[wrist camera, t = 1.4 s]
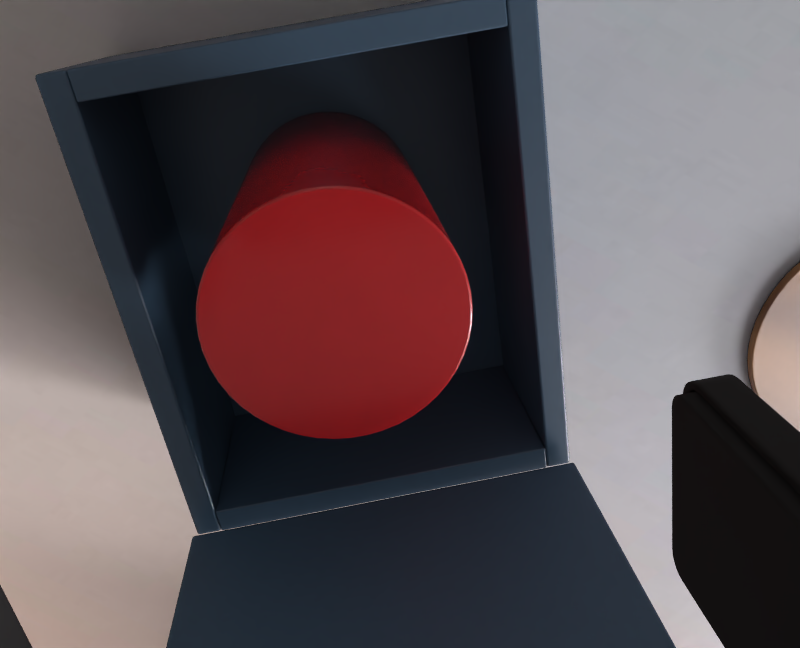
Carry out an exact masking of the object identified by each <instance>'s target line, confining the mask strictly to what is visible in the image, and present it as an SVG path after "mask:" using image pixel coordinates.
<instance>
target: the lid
mask: <svg viewBox="0 0 800 648" xmlns="http://www.w3.org/2000/svg"><path fill="white" fill-rule="evenodd" d="M166 648H676V647H675V645H674V643H673V642H672V640H671V638H670V636H669V634H668V633H667V631H666V629H665V627H664V625H663V623H662V622H661V620H660V618H659V616H658V614H657V613H656V611H655V609H654V607H653V605H652V604H651V602H650V600H649V598H648V596H647V594H646V593H645V591H644V589H643V587H642V585H641V584H640V582H639V580H638V578H637V576H636V575H635V573H634V571H633V569H632V567H631V565H630V564H629V562H628V560H627V558H626V556H625V555H624V553H623V551H622V549H621V547H620V546H619V544H618V542H617V540H616V538H615V536H614V535H613V533H612V531H611V529H610V527H609V526H608V524H607V522H606V520H605V518H604V517H603V515H602V513H601V511H600V509H599V507H598V506H597V504H596V502H595V500H594V498H593V497H592V495H591V493H590V491H589V489H588V488H587V486H586V484H585V482H584V480H583V478H582V477H581V475H580V473H579V471H578V469H577V468H576V466H575V464H574V463H569V464H564V465H559V466H553V467H548V468H543V469H538V470H533V471H528V472H523V473H517V474H512V475H507V476H502V477H497V478H492V479H487V480H481V481H476V482H471V483H466V484H461V485H456V486H451V487H445V488H440V489H435V490H430V491H425V492H420V493H415V494H409V495H404V496H399V497H394V498H389V499H384V500H379V501H373V502H368V503H363V504H358V505H353V506H348V507H343V508H337V509H332V510H327V511H322V512H317V513H312V514H307V515H301V516H296V517H291V518H286V519H281V520H276V521H271V522H265V523H260V524H255V525H250V526H245V527H240V528H235V529H229V530H224V531H219V532H214V533H209V534H204V535H199V536H194V537H193V538H192V542H191V547H190V551H189V555H188V559H187V563H186V567H185V572H184V576H183V580H182V584H181V588H180V592H179V597H178V601H177V605H176V609H175V613H174V617H173V622H172V626H171V630H170V634H169V638H168V642H167V647H166Z"/></svg>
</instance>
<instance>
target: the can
mask: <svg viewBox="0 0 800 648" xmlns="http://www.w3.org/2000/svg"><path fill="white" fill-rule="evenodd" d="M472 315H473V304H472V295H471V288H470V284H469V280H468V276H467V273H466V271H465V268H464V266H463V264H462V261H461V259H460V257H459V255H458V253H457V251H456V250H455V248H454V246H453V244H452V242H451V241H450V239H449V237H448V235H447V233H446V231H445V230H444V228H443V226H442V224H441V222H440V220H439V219H438V217H437V215H436V213H435V211H434V210H433V208H432V206H431V204H430V202H429V200H428V199H427V197H426V195H425V193H424V191H423V190H422V188H421V186H420V184H419V182H418V180H417V179H416V177H415V175H414V173H413V171H412V169H411V168H410V166H409V164H408V162H407V160H406V159H405V157H404V155H403V153H402V152H401V150H400V149H399V147H398V146H397V145H396V143H395V142H394V141H393V140H392V139H391V138H390V137H389V136H388V135H387V134H386V133H385V132H384V131H382V130H381V129H380V128H378V127H377V126H376V125H374V124H372V123H370V122H369V121H367V120H365V119H362V118H360V117H357V116H354V115H350V114H346V113H340V112H317V113H310V114H307V115H303V116H300V117H297V118H295V119H293V120H291V121H288V122H287V123H285V124H284V125H282V126H280V127H279V128H277V129H276V130H275V131H274V132H273V133H272V134H270V135H269V136H268V138H267V139H266V140H265V141H264V142H263V143H262V144H261V146H260V147H259V149H258V150H257V152H256V154H255V156H254V158H253V160H252V162H251V164H250V166H249V168H248V171H247V173H246V175H245V177H244V180H243V182H242V184H241V187H240V189H239V191H238V193H237V196H236V198H235V200H234V202H233V205H232V207H231V209H230V212H229V214H228V216H227V218H226V221H225V223H224V225H223V227H222V230H221V232H220V234H219V236H218V239H217V241H216V243H215V246H214V248H213V250H212V252H211V255H210V257H209V259H208V261H207V264H206V266H205V268H204V271H203V274H202V277H201V280H200V284H199V288H198V294H197V300H196V324H197V332H198V338H199V341H200V345H201V348H202V352H203V354H204V357H205V359H206V361H207V363H208V366H209V368H210V369H211V371H212V373H213V374H214V376H215V377H216V379H217V381H218V382H219V383H220V385H221V386H222V387H223V388H224V389H225V391H226V392H227V393H228V394H229V396H231V397H232V398H233V399H234V400H235V401H236V402H237V403H238V404H239V405H240V406H241V407H243V408H244V409H245V410H247V411H248V412H249V413H251V414H252V415H254V416H255V417H257V418H259V419H260V420H262V421H264V422H266V423H268V424H269V425H272V426H274V427H277V428H279V429H281V430H284V431H287V432H291V433H294V434H298V435H302V436H308V437H314V438H326V439H341V438H353V437H359V436H365V435H369V434H373V433H376V432H380V431H383V430H385V429H388V428H390V427H393V426H395V425H397V424H399V423H401V422H403V421H405V420H407V419H408V418H410V417H412V416H414V415H415V414H416V413H418V412H419V411H420V410H422V409H423V408H425V407H426V406H427V405H428V404H429V403H430V402H431V401H432V400H434V399H435V398H436V397H437V396H438V395H439V394H440V392H441V391H442V390H443V389H444V388H445V386H446V385H447V384H448V383H449V381H450V380H451V378H452V377H453V375H454V374H455V372H456V371H457V369H458V367H459V365H460V363H461V361H462V358H463V356H464V354H465V351H466V348H467V345H468V342H469V338H470V333H471V327H472Z"/></svg>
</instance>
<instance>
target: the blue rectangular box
mask: <svg viewBox="0 0 800 648" xmlns="http://www.w3.org/2000/svg"><path fill="white" fill-rule="evenodd" d="M36 81H37V84H38V87H39V90H40V93H41V95H42V98H43V101H44V104H45V107H46V109H47V112H48V115H49V118H50V121H51V123H52V126H53V129H54V132H55V135H56V137H57V140H58V143H59V146H60V149H61V151H62V154H63V157H64V160H65V163H66V165H67V168H68V171H69V174H70V177H71V179H72V182H73V185H74V188H75V191H76V193H77V196H78V199H79V202H80V205H81V207H82V210H83V213H84V216H85V219H86V221H87V224H88V227H89V230H90V233H91V235H92V238H93V241H94V244H95V247H96V249H97V252H98V255H99V258H100V261H101V263H102V266H103V269H104V272H105V275H106V277H107V280H108V283H109V286H110V289H111V291H112V294H113V297H114V300H115V303H116V305H117V308H118V311H119V314H120V317H121V319H122V322H123V325H124V328H125V331H126V333H127V336H128V339H129V342H130V345H131V347H132V350H133V353H134V356H135V359H136V362H137V364H138V367H139V370H140V373H141V376H142V378H143V381H144V384H145V387H146V390H147V392H148V395H149V398H150V401H151V404H152V406H153V409H154V412H155V415H156V418H157V420H158V423H159V426H160V429H161V432H162V434H163V437H164V440H165V443H166V446H167V448H168V451H169V454H170V457H171V460H172V462H173V465H174V468H175V471H176V474H177V476H178V479H179V482H180V485H181V488H182V490H183V493H184V496H185V499H186V502H187V504H188V507H189V510H190V513H191V516H192V518H193V521H194V524H195V527H196V530H197V532H198V534H203V533H208V532H213V531H218V530H220V529H222V530H226V529H231V528H236V527H241V526H247V525H252V524H257V523H262V522H267V521H272V520H277V519H283V518H288V517H293V516H298V515H303V514H308V513H313V512H319V511H324V510H329V509H334V508H339V507H344V506H349V505H355V504H360V503H365V502H370V501H375V500H380V499H385V498H391V497H396V496H401V495H406V494H411V493H416V492H421V491H427V490H432V489H437V488H442V487H447V486H452V485H457V484H463V483H468V482H473V481H478V480H483V479H488V478H493V477H499V476H504V475H509V474H514V473H519V472H524V471H529V470H535V469H540V468H545V467H546V466H553V465H558V464H563V463H568V462H569V446H568V432H567V418H566V404H565V390H564V376H563V362H562V348H561V333H560V319H559V305H558V291H557V277H556V263H555V249H554V235H553V220H552V206H551V192H550V178H549V164H548V150H547V136H546V122H545V107H544V93H543V79H542V65H541V51H540V37H539V23H538V9H537V0H427V1H422V2H416V3H410V4H405V5H399V6H393V7H388V8H382V9H376V10H371V11H365V12H359V13H354V14H348V15H342V16H337V17H331V18H325V19H320V20H314V21H308V22H303V23H297V24H291V25H286V26H280V27H274V28H268V29H263V30H257V31H251V32H246V33H240V34H234V35H229V36H223V37H217V38H212V39H206V40H200V41H195V42H189V43H183V44H178V45H172V46H166V47H161V48H155V49H149V50H144V51H138V52H132V53H127V54H121V55H115V56H109V57H105V58H102V59H98V60H94V61H89V62H85V63H81V64H77V65H73V66H69V67H65V68H61V69H57V70H53V71H49V72H45V73H41V74H37V75H36ZM317 112H340V113H346V114H350V115H354V116H357V117H360V118H362V119H365V120H367V121H369V122H370V123H372V124H374V125H376V126H377V127H378V128H380V129H381V130H382V131H384V132H385V133H386V134H387V135H388V136H389V137H390V138H391V139H392V140H393V141H394V142H395V143H396V145H397V146H398V147H399V149H400V150H401V152H402V153H403V155H404V157H405V159H406V160H407V162H408V164H409V166H410V168H411V169H412V171H413V173H414V175H415V177H416V179H417V180H418V182H419V184H420V186H421V188H422V190H423V191H424V193H425V195H426V197H427V199H428V200H429V202H430V204H431V206H432V208H433V210H434V211H435V213H436V215H437V217H438V219H439V220H440V222H441V224H442V226H443V228H444V230H445V231H446V233H447V235H448V237H449V239H450V241H451V242H452V244H453V246H454V248H455V250H456V251H457V253H458V255H459V257H460V259H461V261H462V264H463V266H464V268H465V271H466V273H467V276H468V280H469V284H470V288H471V295H472V304H473V315H472V327H471V333H470V338H469V342H468V345H467V348H466V351H465V354H464V356H463V358H462V361H461V363H460V365H459V367H458V369H457V371H456V372H455V374H454V375H453V377H452V378H451V380H450V381H449V383H448V384H447V385H446V386H445V388H444V389H443V390H442V391H441V392H440V394H439V395H438V396H437V397H436V398H435V399H434V400H432V401H431V402H430V403H429V404H428V405H427V406H426V407H425V408H423V409H422V410H420V411H419V412H418V413H416V414H415V415H414V416H412V417H410V418H408V419H407V420H405V421H403V422H401V423H399V424H397V425H395V426H393V427H390V428H388V429H385V430H383V431H380V432H376V433H373V434H369V435H365V436H359V437H353V438H341V439H326V438H314V437H308V436H302V435H298V434H294V433H291V432H287V431H284V430H281V429H279V428H277V427H274V426H272V425H269V424H268V423H266V422H264V421H262V420H260V419H259V418H257V417H255V416H254V415H252V414H251V413H249V412H248V411H247V410H245V409H244V408H243V407H241V406H240V405H239V404H238V403H237V402H236V401H235V400H234V399H233V398H232V397H231V396H229V394H228V393H227V392H226V391H225V389H224V388H223V387H222V386H221V385H220V383H219V382H218V381H217V379H216V377H215V376H214V374H213V373H212V371H211V369H210V368H209V366H208V363H207V361H206V359H205V357H204V354H203V352H202V348H201V345H200V341H199V338H198V332H197V324H196V300H197V294H198V288H199V284H200V280H201V277H202V274H203V271H204V268H205V266H206V264H207V261H208V259H209V257H210V255H211V252H212V250H213V248H214V246H215V243H216V241H217V239H218V236H219V234H220V232H221V230H222V227H223V225H224V223H225V221H226V218H227V216H228V214H229V212H230V209H231V207H232V205H233V202H234V200H235V198H236V196H237V193H238V191H239V189H240V187H241V184H242V182H243V180H244V177H245V175H246V173H247V171H248V168H249V166H250V164H251V162H252V160H253V158H254V156H255V154H256V152H257V150H258V149H259V147H260V146H261V144H262V143H263V142H264V141H265V140H266V139H267V138H268V136H269V135H270V134H272V133H273V132H274V131H275V130H276V129H277V128H279V127H280V126H282V125H284V124H285V123H287V122H288V121H291V120H293V119H295V118H297V117H300V116H303V115H307V114H310V113H317Z"/></svg>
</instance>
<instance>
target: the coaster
mask: <svg viewBox="0 0 800 648" xmlns="http://www.w3.org/2000/svg"><path fill="white" fill-rule="evenodd" d="M747 361H748V374H749V378H750V382H751V386H752V389H753V391H754V393H756V394H757V395H758V396H759V397H760V398H761V399H763V400H764V401H765V402H766V403H767V404H768V405H769V406H771V407H772V408H773V409H774V410H775V411H776V412H777V413H779V414H780V415H781V416H782V417H783V418H784V419H785V420H787V421H788V422H789V423H790V424H791V425H792V426H793V427H795V428H796V429H797V430H798V431H799V432H800V262H799V263H798V264H797V265H796V266H794V267H793V268H792V269H791V270H790V272H789V273H788V274H787V275H786V276H785V277H784V278H783V279H782V280H781V281H780V282H779V284H778V285H777V286H776V287H775V289H774V290H773V291H772V293H771V294H770V296H769V297H768V299H767V301H766V302H765V304H764V305H763V307H762V309H761V311H760V313H759V315H758V317H757V319H756V322H755V325H754V328H753V331H752V334H751V338H750V343H749V347H748V360H747Z"/></svg>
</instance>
